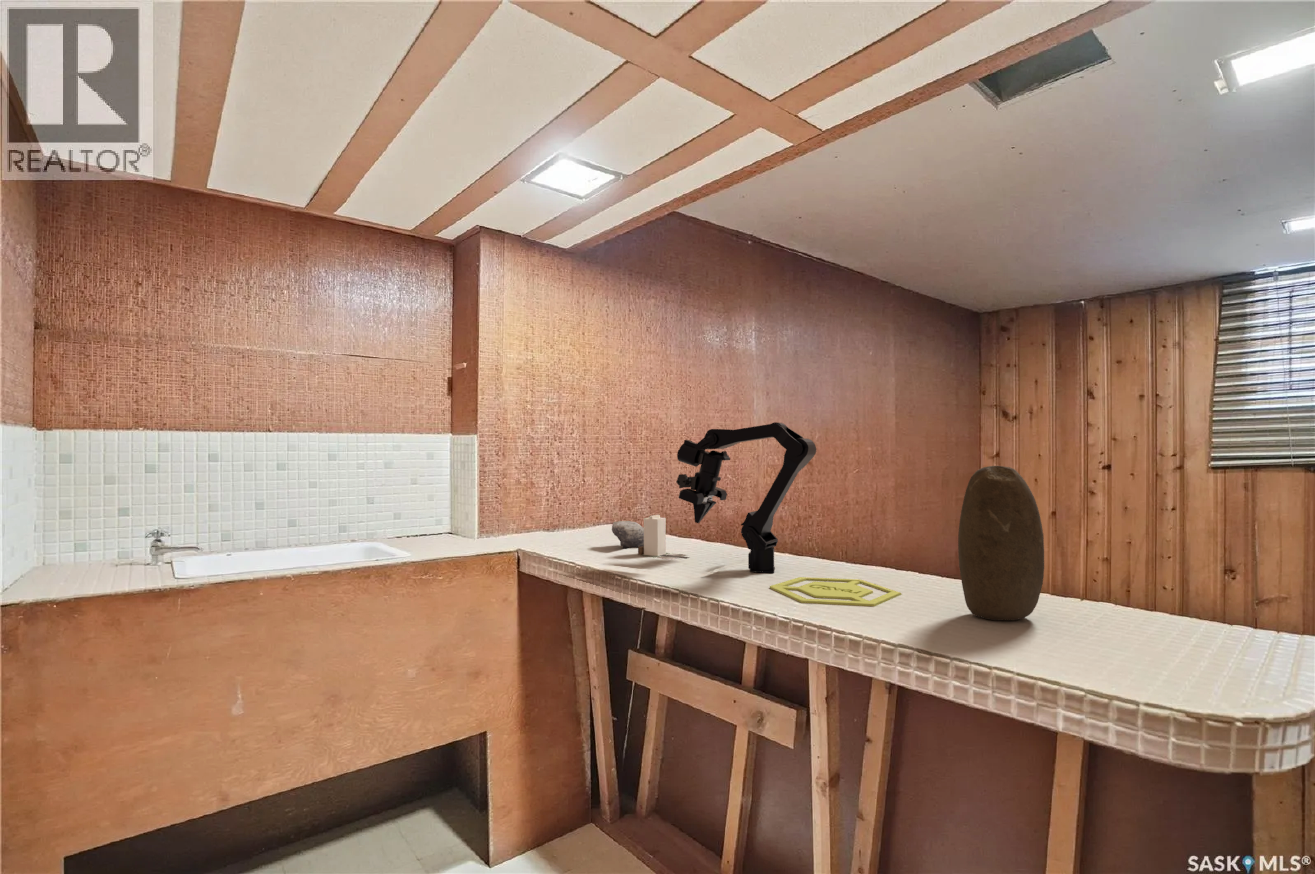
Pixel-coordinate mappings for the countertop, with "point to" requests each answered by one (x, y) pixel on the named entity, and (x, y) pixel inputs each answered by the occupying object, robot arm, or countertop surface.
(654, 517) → the white rectangular block
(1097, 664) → the countertop surface
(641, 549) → the switch board
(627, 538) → the rock
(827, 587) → the logo
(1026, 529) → the stone
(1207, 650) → the countertop surface
